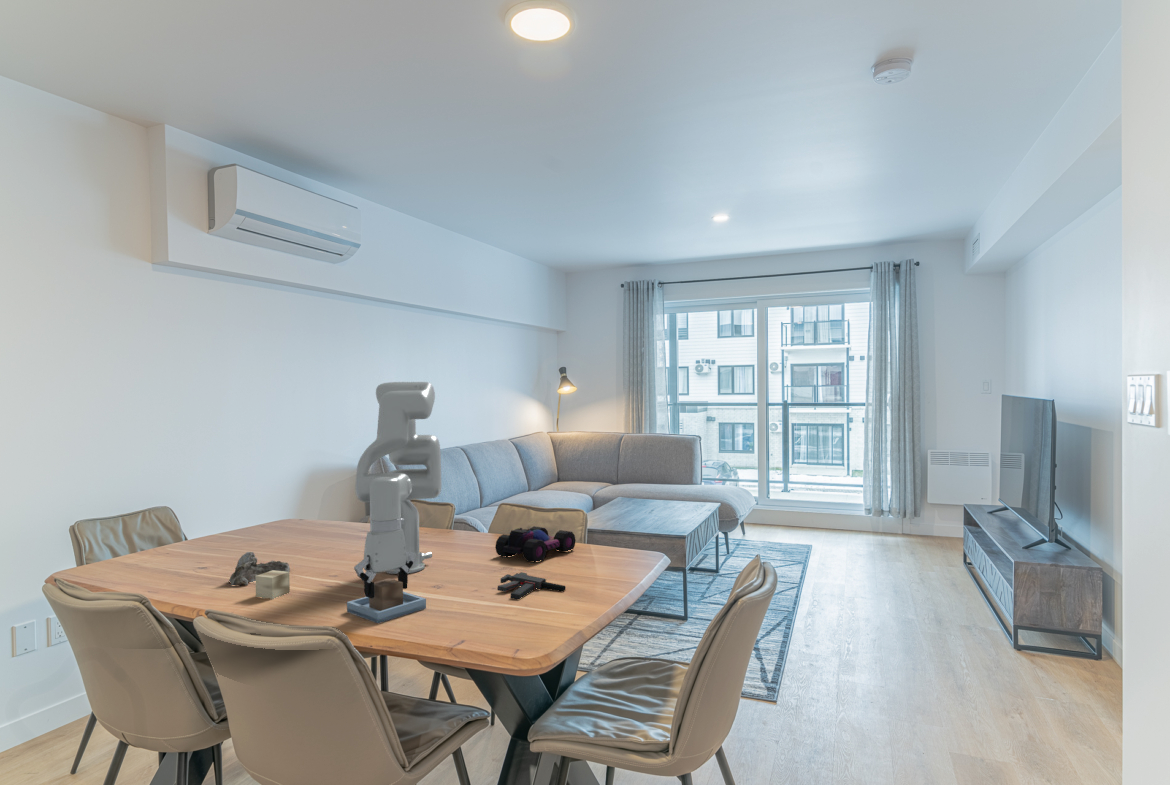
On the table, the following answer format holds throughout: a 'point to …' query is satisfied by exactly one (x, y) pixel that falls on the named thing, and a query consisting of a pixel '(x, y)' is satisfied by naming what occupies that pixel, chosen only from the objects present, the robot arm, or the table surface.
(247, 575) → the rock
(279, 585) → the oak cube
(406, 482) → the robot arm
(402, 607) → the tray
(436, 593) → the table surface
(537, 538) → the toy car
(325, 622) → the table surface
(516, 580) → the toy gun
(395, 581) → the walnut cube
